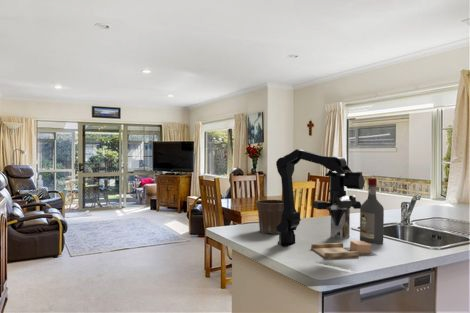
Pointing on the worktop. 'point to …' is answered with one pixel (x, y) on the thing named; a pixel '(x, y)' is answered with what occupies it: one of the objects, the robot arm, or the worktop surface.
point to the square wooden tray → (333, 251)
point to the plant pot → (269, 215)
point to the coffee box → (341, 226)
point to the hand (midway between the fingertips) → (336, 225)
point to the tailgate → (362, 253)
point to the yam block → (360, 246)
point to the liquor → (371, 217)
